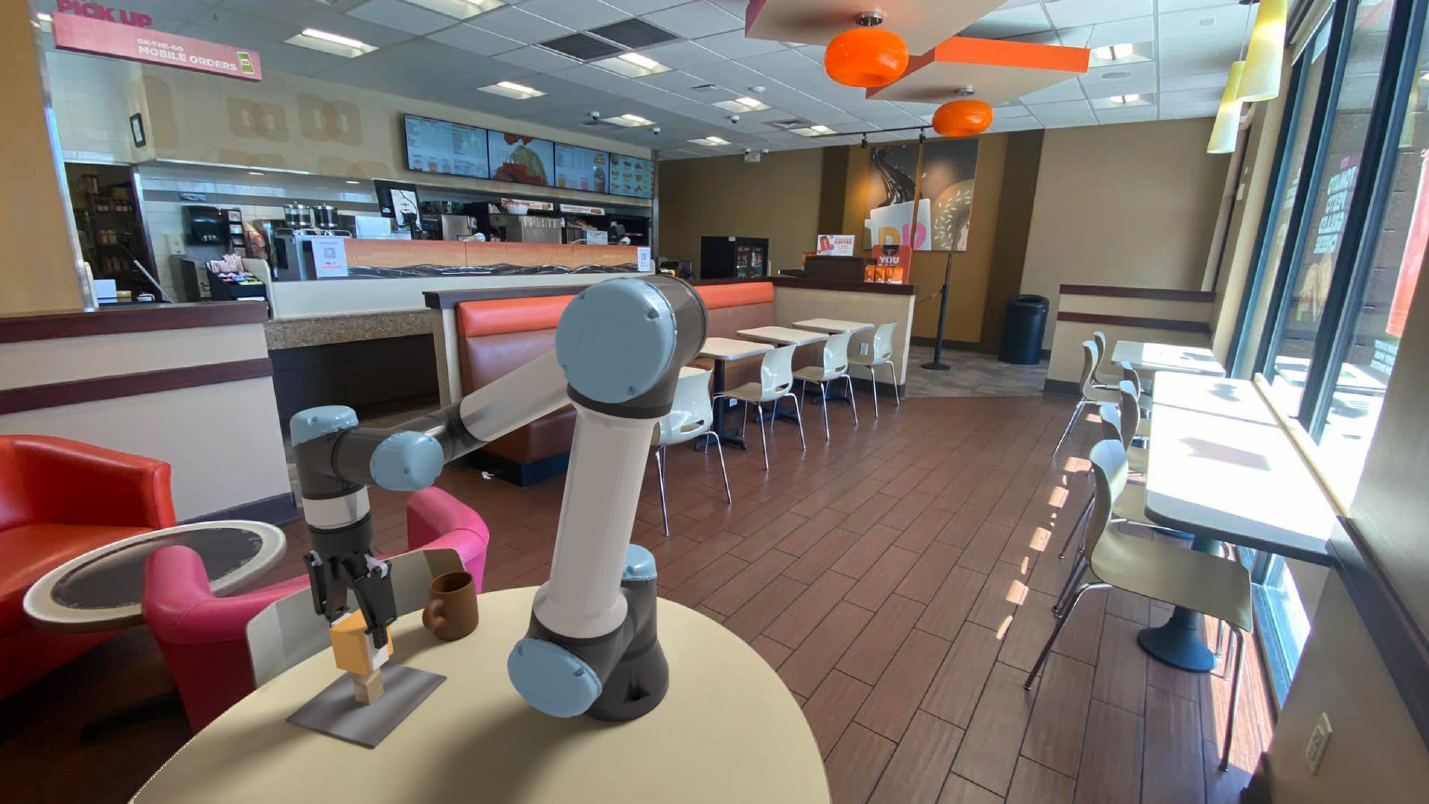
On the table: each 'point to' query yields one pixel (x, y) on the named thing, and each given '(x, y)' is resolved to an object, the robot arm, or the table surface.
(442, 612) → the mug
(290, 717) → the grey rubber mat
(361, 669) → the orange foam cube
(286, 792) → the table surface
